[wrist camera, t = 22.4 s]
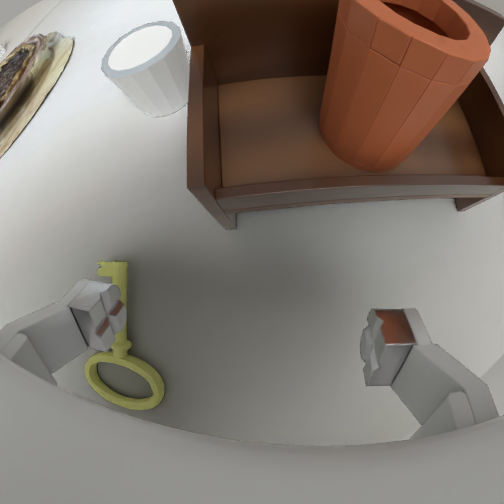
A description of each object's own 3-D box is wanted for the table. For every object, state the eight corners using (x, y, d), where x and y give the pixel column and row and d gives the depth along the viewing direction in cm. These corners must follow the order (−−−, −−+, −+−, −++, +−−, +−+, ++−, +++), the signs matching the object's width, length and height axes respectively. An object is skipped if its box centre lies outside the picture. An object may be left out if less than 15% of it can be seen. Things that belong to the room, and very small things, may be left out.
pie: (93, 56, 25) (75, 34, 20) (-25, 208, 25) (-48, 200, 20) (52, 25, 30) (41, 12, 25) (-32, 126, 29) (-46, 118, 24)
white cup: (161, 134, 22) (125, 88, 15) (122, 104, 23) (88, 63, 16) (217, 84, 22) (198, 30, 15) (172, 60, 23) (149, 14, 16)
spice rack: (463, 211, 19) (581, 148, 5) (225, 230, 20) (131, 129, 7) (432, 111, 20) (500, 14, 6) (219, 115, 22) (167, -22, 8)
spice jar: (419, 171, 15) (515, 77, 5) (329, 174, 15) (379, 40, 5) (393, 94, 15) (444, -13, 5) (310, 93, 16) (323, -39, 6)
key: (135, 254, 21) (121, 251, 19) (173, 406, 19) (163, 416, 17) (71, 274, 21) (56, 272, 19) (104, 407, 20) (91, 415, 18)
